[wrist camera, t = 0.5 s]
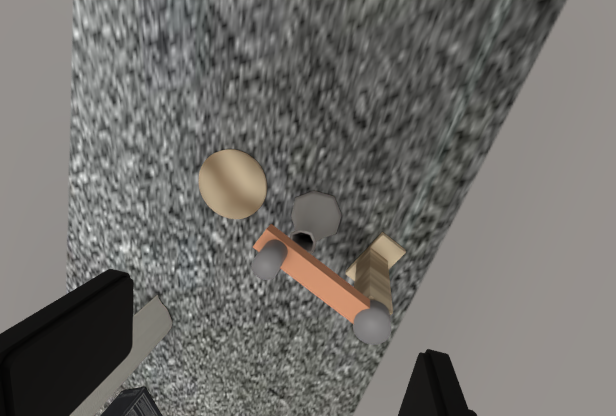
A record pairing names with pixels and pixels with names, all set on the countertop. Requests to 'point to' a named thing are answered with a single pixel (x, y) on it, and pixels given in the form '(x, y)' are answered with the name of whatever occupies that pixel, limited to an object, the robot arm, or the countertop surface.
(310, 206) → the flask
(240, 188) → the coaster
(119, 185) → the countertop surface
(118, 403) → the small box
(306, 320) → the countertop surface
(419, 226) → the countertop surface
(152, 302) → the paper towel roll
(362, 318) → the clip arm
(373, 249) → the post
